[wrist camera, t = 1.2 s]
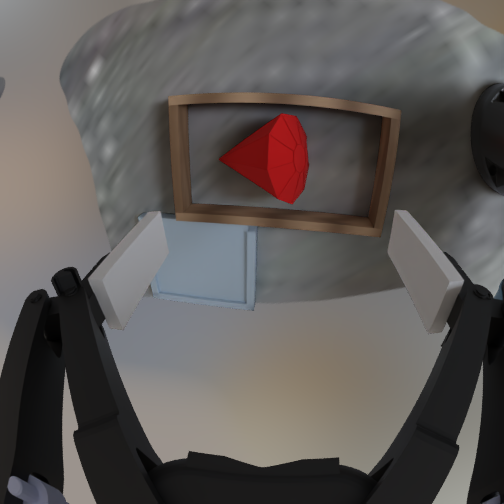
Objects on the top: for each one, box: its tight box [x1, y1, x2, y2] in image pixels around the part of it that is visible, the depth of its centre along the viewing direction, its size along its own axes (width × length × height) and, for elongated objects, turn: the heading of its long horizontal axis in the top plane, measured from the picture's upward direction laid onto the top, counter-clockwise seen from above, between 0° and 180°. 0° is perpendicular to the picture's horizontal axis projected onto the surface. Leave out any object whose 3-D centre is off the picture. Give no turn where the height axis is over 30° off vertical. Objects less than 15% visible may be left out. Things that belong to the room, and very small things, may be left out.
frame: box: [168, 93, 401, 237], centre depth 28 cm, size 23×14×3 cm, turn 89°
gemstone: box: [219, 113, 309, 204], centre depth 28 cm, size 9×9×10 cm
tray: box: [138, 213, 258, 311], centre depth 37 cm, size 15×13×2 cm
